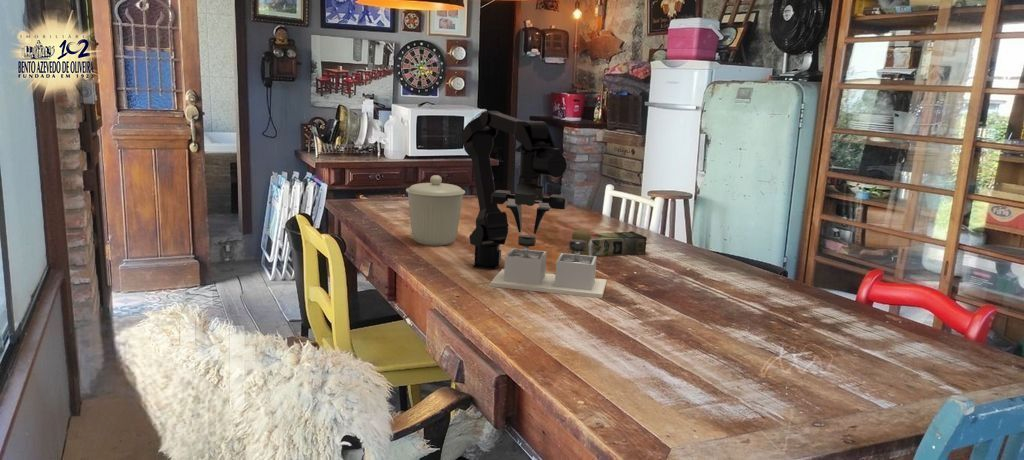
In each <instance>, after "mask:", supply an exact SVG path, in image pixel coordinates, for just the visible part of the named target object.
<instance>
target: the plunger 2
mask: <svg viewBox="0 0 1024 460" xmlns="http://www.w3.org/2000/svg"><path fill="white" fill-rule="evenodd" d="M568 242H569V243H568V250H569V251H572V250H573V251H575V257H567V258H564V259H563V261H565V262H575V263H585V264H590V260H588V259H585V258H580V257H579V255H580V251H586V247H587V242H586V241H584V240H576V239H575V240H572V239H570V240H569V241H568Z"/></svg>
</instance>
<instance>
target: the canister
mask: <svg viewBox="0 0 1024 460" xmlns="http://www.w3.org/2000/svg"><path fill="white" fill-rule="evenodd" d="M429 181H430V182H421V183H416V184H412V185H410V186H409V187H406V189H405V192H406V193H407V196H408V206H409V208H408V209H409V220H410V228H411V229H410V230H411V235H412V238H413V240H414V241H415V242H416V243H418V244H420V245H425V246H433V247H436V246H438V247H439V246H448V245H451V244H452V243H454V242H455V240H456V239H457V235H458V230H459V224H460V218H461V210H462V203H463V197H464V195H465V194H466V191H465V190H464V189H462V187H460V186H458V185H456V184H452V183H451V184H450V183H445V182H444V183H443V182H442V181H443V180H442V176H440V175H438V174H436V175H432V176H430V180H429Z"/></svg>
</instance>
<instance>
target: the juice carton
mask: <svg viewBox="0 0 1024 460" xmlns="http://www.w3.org/2000/svg"><path fill="white" fill-rule="evenodd" d="M590 235H591V239H590V241H589V243H588V246H589V256H597V257H614V256H615V257H616V256H617V257H618V256H643V255H646V251H647V249H646V248H647V241H648V238H647V237H646V236H644V235H642V234H639V233H636V232H634V230H633V231H623V232H622V231H621V232H619V231H618V232H592V233H591V232H590Z"/></svg>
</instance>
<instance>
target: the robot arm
mask: <svg viewBox="0 0 1024 460" xmlns="http://www.w3.org/2000/svg"><path fill="white" fill-rule="evenodd" d="M499 131H501V132H503V133H506V134H509V135H512V137H513V139H514V140H515V141H516V142H517V143H519V146H517V148H515V152H516V153H520V157H519V158H520V159H519V173H518V175H519V176H518V182H517V185H516V188H515V191H514V194H513V193H511V190H504V189H497V190H496V187H495V182H494V181H495V180H494V176H493V171H492V170H493V169H492V163H491V158H490V155H491V154H492V150H493V147H494V139H495V138H496V136H498V134H499ZM460 139H461V142H462V145H463V149H464V151H465V153H466V154H467V155H468V156H469V157H470V158H471V164H472V169H473V176H474V181H475V189H476V195H477V200H478V201H477V202H478V207H479V212H478V214H477V216H476V219H475V228H474V229H473V231H472V232H471V234H470V235H469V243H470V245H472V246H474V264H472V268H478V269H487V270H497V268H498V267H499V266H500V265H501V263H502V250H501V249H500V245H503V246H504V245H505V243H506V240H507V237H508V234H509V226H510V225H509V223H508V215H507V213H506V211H501V209H500V208H499V206H498V205H504V204H505V203H506V206H505V207H506V208H507V209H509V210H510V211H511V213H512V215H513V217H514V220H515V224H516V227H517V230H518V231H517V232H518V233H521V232H522V224H523V223H522V221H523V218H522V214H523V213H522V210H523V209H522V205H523V206H529V207H533V206H535V204H538V207H537V208H536V216H535V221H534V227H533V233H534V234H535V235H536V234H537V232H538V230H539V227H540V224H541V222H542V220H543V217H544V216H545V214H546V212H549V211H551V209H552V210H553V209H555V210H565V209H566V208H567V207H568V197H567V195H565V194H554V193H553V194H552V193H551V195H550V196H544V195H545V188H544V186H543V185H542V181H543V176H548V177H552V178H560V177H562V175H564V174H565V172H566V169H567V162H566V161H567V160H566V158H565V156H564V155H563V154H562V153H561V151H562V150H561V148H556V143H555V141H554V140H553V137H552V134H551V131H550V129H549V127H548V124H547V122H546V121H539V120H536V121H535V120H523V119H519V118H516V117H513V116H511V115H508V114H504V113H502V112H500V111H497V110H485V111H482V112H481V113H480V114H479V116H478V117H476V118H474V119H473V120H470V121H468V123H467V125H466V126H464V128H463V129H462V130H461V133H460Z"/></svg>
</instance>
